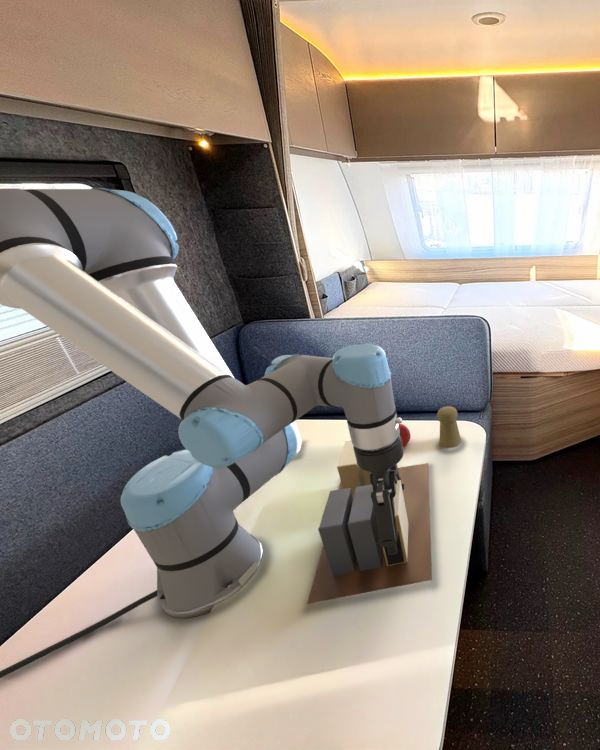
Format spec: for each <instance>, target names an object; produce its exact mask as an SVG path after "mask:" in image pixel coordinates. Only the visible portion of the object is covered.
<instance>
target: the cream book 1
mask: <svg viewBox="0 0 600 750" xmlns="http://www.w3.org/2000/svg"><path fill="white" fill-rule="evenodd" d="M353 446H354V445H353V444H352V441H351V439H350V440H345V441H344V445H343V448H342V451H341V454H340V458H339V461H338V464H337V465H336V466H337V467H336V469H337V473H338V475H339V479H340V483H342V487H343V489H346V488H350V489H351V493H352V497H353V499H354V494H355V489H356V487H359V486H365V485H366V484H365V480H364V475H363V471H362V469H361V468H360V467H359V466H358V464H357V461H356V457H355V453H354V449H353Z"/></svg>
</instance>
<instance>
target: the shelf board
mask: <svg viewBox="0 0 600 750" xmlns="http://www.w3.org/2000/svg"><path fill="white" fill-rule="evenodd" d="M398 471H399V475H400V477H401V484H404V490H402V491H403V496H404V502H405V507H406V513H407V518H408V554H407V560H408V562H406V563H401V564H395V565H390V566H387V565H386V560H385V556H384V552H383V554H382V564H381V565H382V567H380V568H374V569H369V570H364V571H360V568H359V565H358V561H357V560H356V566H355V572H353V573H347V574H342V575H336V576H333V574H332V571H331V568H330V564H329V561H328V558H327V555H326V552H325V549H324V546H323V545H322V548H321V552H320V555H319V560H318V563H317V566H316V569H315V574H314V578H313V581H312V583H311V584H312V585H311V589H310V593H309V596H308V600H307V605H308V604H314V603H319V602H325V601H329V600H335V599H339V598H345V597H350V596H354V595H360V594H361V595H362V594H365V593H370V592H376V591H381V590H387V589H392V588H396V587H402V586H407V585H412V584H417V583H418V584H419V583H423V582H428V581H433V567H432V566H433V565H432V562H433V561H432V536H431V533H432V532H431V509H430V508H431V506H430V481H429V479H430V478H429V477H430V476H429V463H423V464H422V463H420V464H415V465H408V466H401V467H398ZM339 489H343V487H342V483H341V482H339V486H338V490H339Z"/></svg>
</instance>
